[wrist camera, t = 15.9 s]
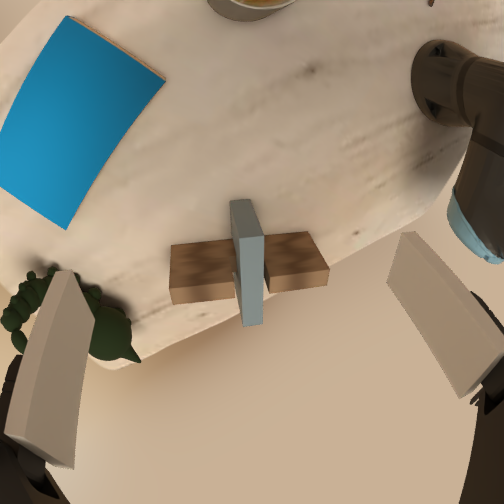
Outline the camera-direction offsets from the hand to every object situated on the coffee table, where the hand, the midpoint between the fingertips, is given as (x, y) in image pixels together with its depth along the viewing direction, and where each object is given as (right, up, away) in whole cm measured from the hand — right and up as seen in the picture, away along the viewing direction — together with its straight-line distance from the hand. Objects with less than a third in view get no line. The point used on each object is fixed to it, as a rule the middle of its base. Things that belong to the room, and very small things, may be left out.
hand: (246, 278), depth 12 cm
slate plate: (-1, +2, +38) cm, 38 cm away
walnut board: (-2, +2, +38) cm, 38 cm away
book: (-25, +19, +22) cm, 38 cm away
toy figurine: (-30, -7, +38) cm, 49 cm away
